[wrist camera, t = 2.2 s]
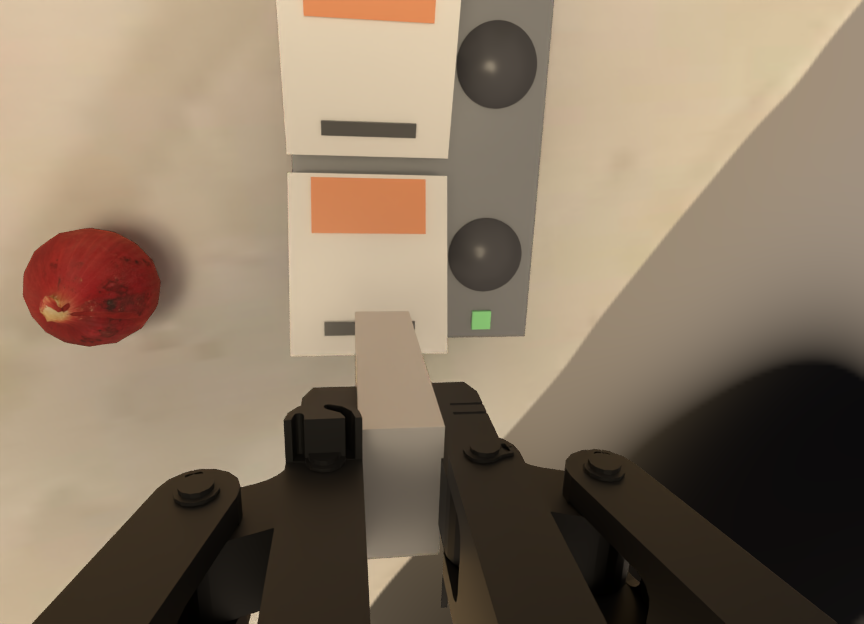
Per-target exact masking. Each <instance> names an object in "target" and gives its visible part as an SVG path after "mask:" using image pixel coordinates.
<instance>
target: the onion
mask: <svg viewBox="0 0 864 624" xmlns="http://www.w3.org/2000/svg"><path fill="white" fill-rule="evenodd" d="M160 283H161V282H160V279H159V276H158V274H157V271H156V268H155V265H154V263H153V260H152V259H151V258H150V257H149V256H148V255H147V254H146V253H145V252H144V251H143V250H142V249H141V248H140V247H139V246H138V245H137V244H136V243H134V242H132V241H130V240H129V239H127V238H125V237H123V236H121V235H119V234H117V233H115V232H111V231H105V230H99V229H94V228H86V229H79V230H74V231H69V232H63V233H59V234H58V235H56V236H55V237H53V238H52V239H50V240H49V241H47V242H46V243H45V244H43V245H42V246H40V247H39V248H38V249H37V250H36V251H35V252H34V254H33V256H32V258H31V260H30V262H29V264H28V266H27V268H26V270H25V272H24V279H23V297H24V300H25V302H26V304H27V306H28V309H29V311H30V313H31V315H32V317H33V318H34V319H35V320H36V322H37V323H38V324H39V325H40V326H41V327H42V328H43V329H44V330H45V332H47V333H49V334H51V335H52V336H54V337H56V338H58V339H60V340H62V341H64V342H67V343H71V344H77V345H83V346H89V347H90V346H96V345H102V344H110V343H117V342H119V341H120V340H122V339H124V338H125V337H127V336H129V335H131V334H132V333H134V332H136V331H137V330H139V329H141V328H142V327H143V326H144V324H145V323H146V321H147V320H148V319H149V317H150V316H151V315H152V313H153V312H154V310H155V309H156V307H157V305H158V300H159V292H160Z"/></svg>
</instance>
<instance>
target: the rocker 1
mask: <svg viewBox="0 0 864 624" xmlns="http://www.w3.org/2000/svg"><path fill="white" fill-rule="evenodd" d="M460 7H461V0H276V8H277V23H278V37H279V52H280V66H281V81H282V95H283V110H284V124H285V139H286V153H287V154H293V155H331V156H369V157H407V158H444V159H448V151H449V139H450V127H451V115H452V103H453V91H454V79H455V67H456V55H457V43H458V31H459V19H460Z"/></svg>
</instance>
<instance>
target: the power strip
mask: <svg viewBox="0 0 864 624" xmlns="http://www.w3.org/2000/svg"><path fill="white" fill-rule="evenodd" d="M553 6H554V0H461V7H460V19H459V31H458V43H457V55H456V67H455V79H454V91H453V103H452V115H451V127H450V139H449V151H448V159H444V158H407V157H369V156H331V155H293V154H292V173H337V174H382V175H427V176H447V337H506V336H525V325H526V313H527V302H528V291H529V279H530V268H531V256H532V245H533V234H534V222H535V211H536V199H537V188H538V177H539V165H540V154H541V142H542V131H543V120H544V108H545V97H546V85H547V74H548V63H549V51H550V40H551V28H552V17H553Z"/></svg>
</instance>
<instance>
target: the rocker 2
mask: <svg viewBox="0 0 864 624" xmlns="http://www.w3.org/2000/svg"><path fill="white" fill-rule="evenodd" d="M287 183H288V245H289V307H290V356H338V355H355V312H360V311H409V314H410V317H411V320H412V323H413V327H414V330H415V333H416V336H417V339H418V342H419V346H420V349H421V352H422V354H436V353H447V176H427V175H382V174H337V173H292V172H287Z"/></svg>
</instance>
